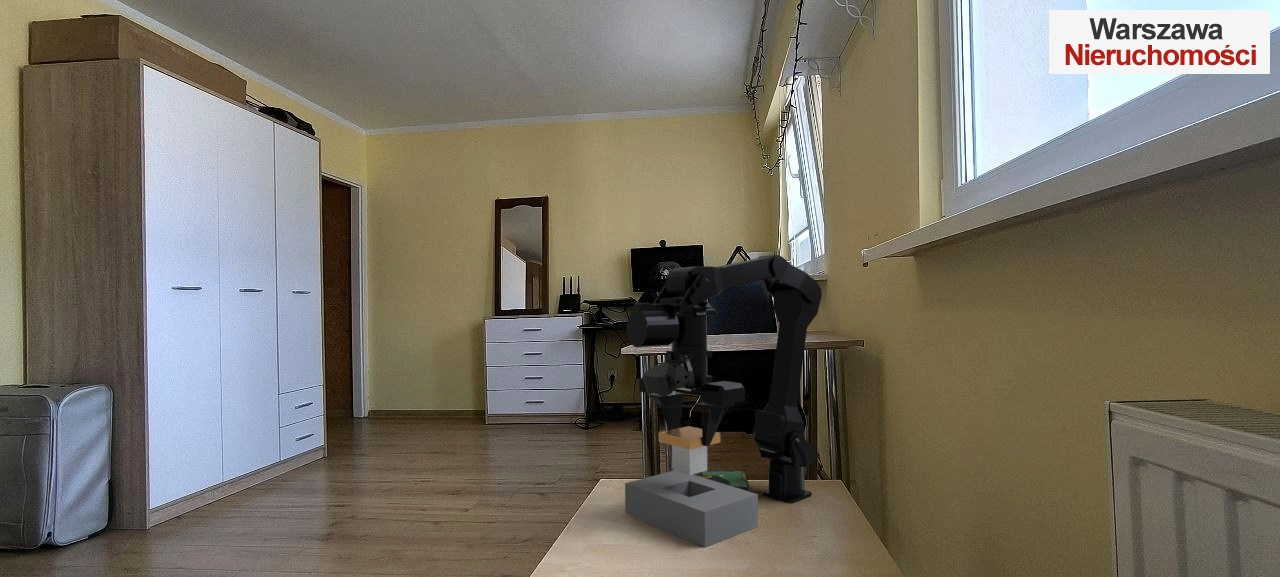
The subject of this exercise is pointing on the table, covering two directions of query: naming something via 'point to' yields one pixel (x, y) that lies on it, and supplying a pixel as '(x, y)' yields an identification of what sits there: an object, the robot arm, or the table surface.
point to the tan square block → (687, 449)
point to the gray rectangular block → (692, 506)
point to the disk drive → (726, 478)
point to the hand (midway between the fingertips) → (689, 441)
